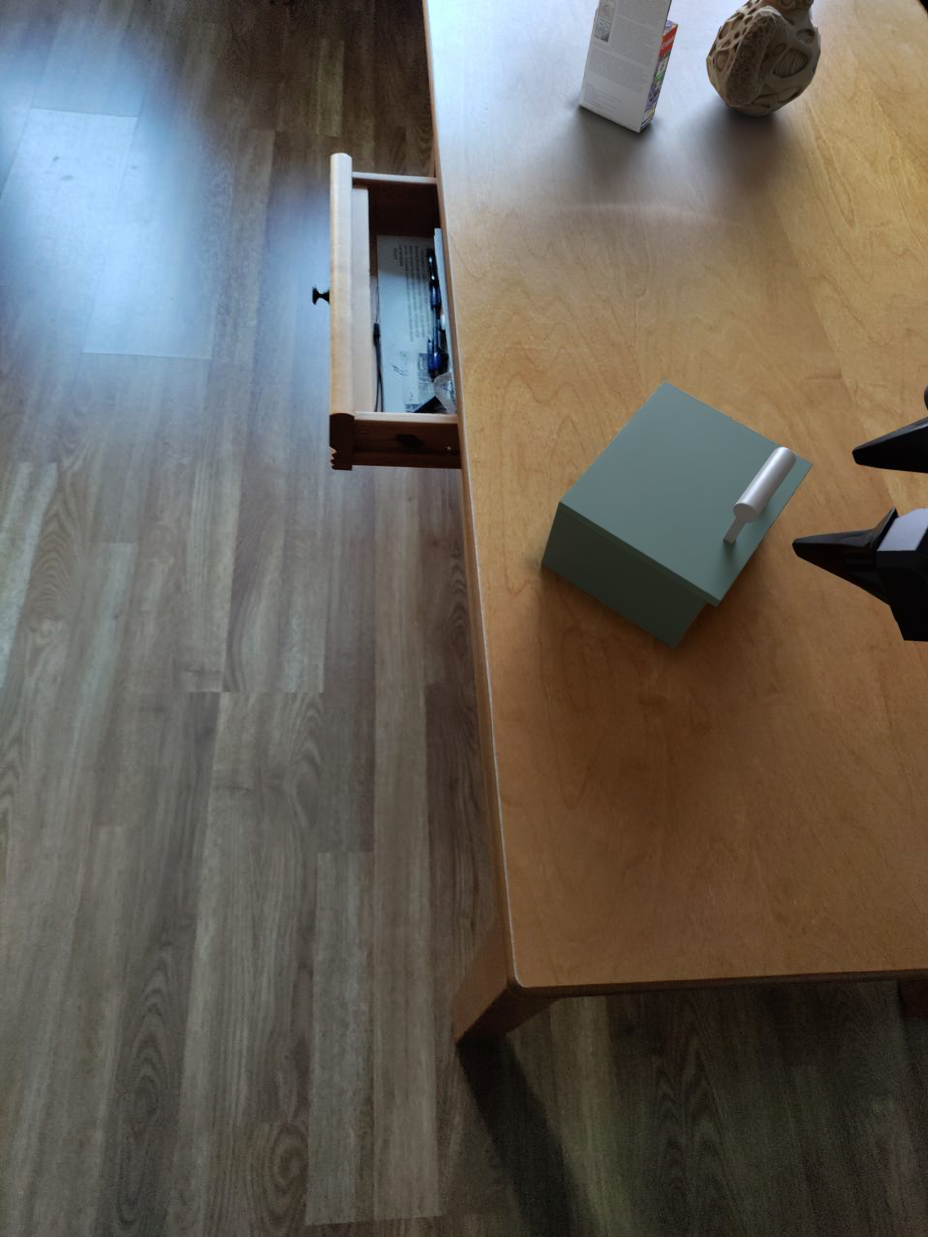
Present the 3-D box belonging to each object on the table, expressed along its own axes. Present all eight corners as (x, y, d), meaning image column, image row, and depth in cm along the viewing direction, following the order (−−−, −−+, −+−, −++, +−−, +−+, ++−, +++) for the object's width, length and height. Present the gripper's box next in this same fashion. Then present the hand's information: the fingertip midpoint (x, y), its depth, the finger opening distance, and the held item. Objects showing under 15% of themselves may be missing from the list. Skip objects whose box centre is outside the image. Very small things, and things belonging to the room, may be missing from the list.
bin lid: (809, 470, 62) (840, 424, 58) (716, 607, 55) (744, 566, 51) (661, 387, 65) (680, 337, 60) (556, 508, 58) (570, 461, 54)
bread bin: (762, 521, 68) (798, 465, 62) (674, 649, 61) (705, 601, 56) (637, 447, 71) (661, 388, 65) (540, 563, 64) (556, 508, 58)
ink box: (592, 91, 96) (624, -62, 83) (654, 120, 94) (696, -33, 81) (575, 105, 94) (605, -49, 82) (637, 135, 92) (678, -19, 80)
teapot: (723, 48, 103) (773, -105, 90) (816, 79, 101) (880, -72, 88) (666, 138, 93) (712, -20, 80) (767, 174, 91) (832, 18, 78)
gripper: (1156, 229, 42) (844, 306, 54) (1045, 458, 34) (706, 488, 46) (1186, 420, 47) (894, 451, 59) (1095, 661, 39) (778, 639, 51)
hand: (825, 500), depth 53 cm, fingers open, 9 cm apart
